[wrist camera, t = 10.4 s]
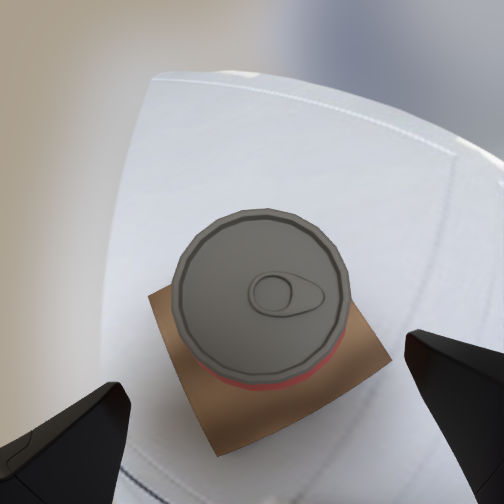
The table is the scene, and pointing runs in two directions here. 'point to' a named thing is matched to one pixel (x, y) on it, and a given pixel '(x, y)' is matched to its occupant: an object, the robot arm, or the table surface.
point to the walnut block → (266, 402)
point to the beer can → (261, 299)
